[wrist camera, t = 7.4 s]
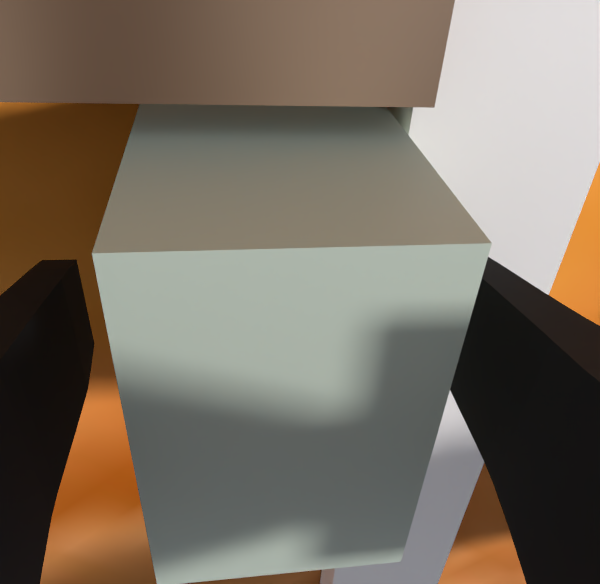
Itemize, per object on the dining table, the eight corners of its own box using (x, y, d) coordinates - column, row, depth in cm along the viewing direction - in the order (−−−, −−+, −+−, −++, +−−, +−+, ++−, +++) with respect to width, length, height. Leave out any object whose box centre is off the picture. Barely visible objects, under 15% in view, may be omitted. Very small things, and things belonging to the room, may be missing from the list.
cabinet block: (373, 90, 11) (492, 243, 7) (341, 349, 15) (400, 561, 11) (145, 87, 11) (91, 253, 6) (175, 358, 15) (157, 585, 10)
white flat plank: (642, -109, 10) (703, -108, 9) (396, 630, 26) (405, 666, 25) (421, -124, 9) (452, -125, 8) (311, 639, 26) (316, 677, 24)
